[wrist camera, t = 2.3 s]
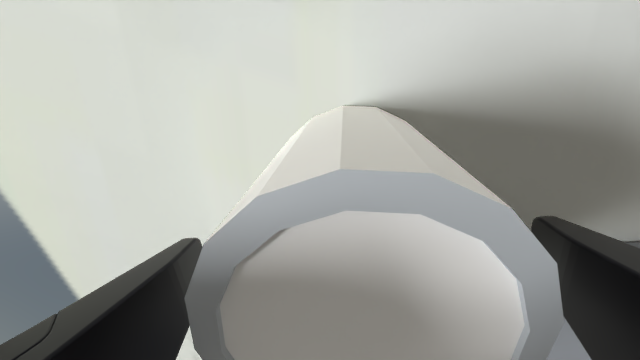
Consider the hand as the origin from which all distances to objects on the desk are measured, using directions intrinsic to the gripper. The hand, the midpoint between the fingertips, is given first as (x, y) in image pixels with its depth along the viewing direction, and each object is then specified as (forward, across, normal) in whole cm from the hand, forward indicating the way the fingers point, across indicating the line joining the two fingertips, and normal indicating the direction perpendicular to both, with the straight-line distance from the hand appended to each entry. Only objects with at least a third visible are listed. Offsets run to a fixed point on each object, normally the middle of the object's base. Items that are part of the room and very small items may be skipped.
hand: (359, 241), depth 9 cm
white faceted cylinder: (+4, 0, 0) cm, 4 cm away
